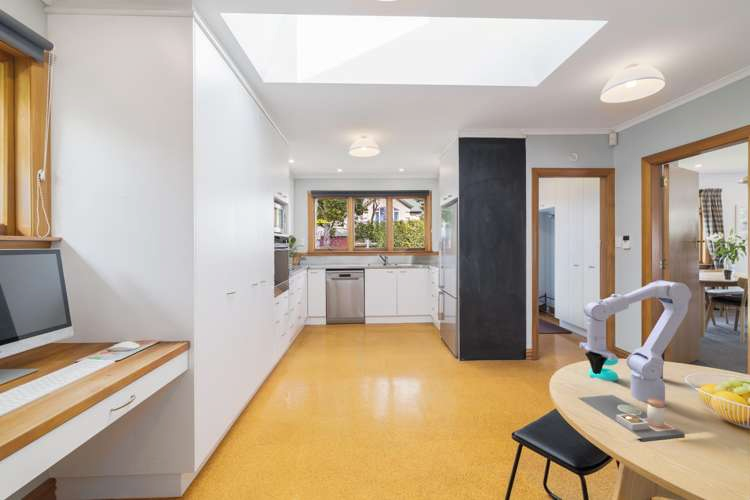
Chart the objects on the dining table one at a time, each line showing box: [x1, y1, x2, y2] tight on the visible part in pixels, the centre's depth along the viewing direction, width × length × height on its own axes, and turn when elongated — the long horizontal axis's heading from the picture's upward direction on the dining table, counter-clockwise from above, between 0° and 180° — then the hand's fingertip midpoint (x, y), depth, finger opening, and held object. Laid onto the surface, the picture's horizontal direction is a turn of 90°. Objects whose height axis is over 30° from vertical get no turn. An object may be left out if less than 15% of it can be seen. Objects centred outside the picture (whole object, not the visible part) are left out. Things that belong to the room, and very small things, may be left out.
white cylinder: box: [646, 398, 666, 428], centre depth 102 cm, size 4×4×7 cm
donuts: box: [588, 356, 619, 383], centre depth 139 cm, size 10×10×10 cm
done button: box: [625, 414, 640, 423], centre depth 102 cm, size 4×4×2 cm
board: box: [578, 394, 686, 443], centre depth 108 cm, size 14×25×3 cm, turn 7°
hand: (596, 373), depth 121 cm, fingers closed
